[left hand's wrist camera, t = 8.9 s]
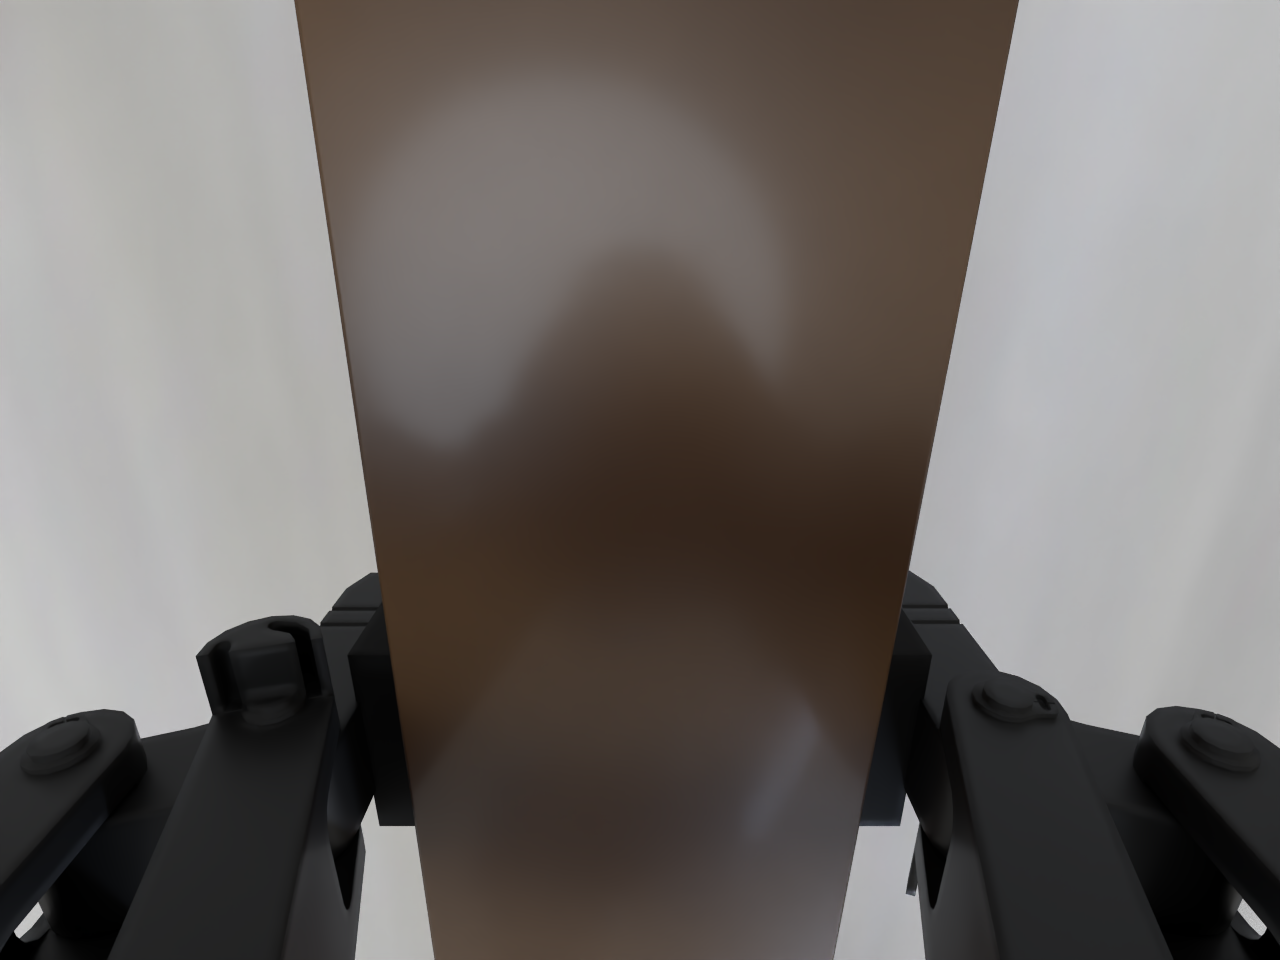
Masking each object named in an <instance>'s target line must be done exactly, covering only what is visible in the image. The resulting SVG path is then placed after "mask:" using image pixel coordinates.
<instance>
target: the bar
mask: <svg viewBox="0 0 1280 960" xmlns="http://www.w3.org/2000/svg"><path fill="white" fill-rule="evenodd" d="M294 1H295V8H296V15H297V22H298V29H299V36H300V42H301V49H302V56H303V63H304V70H305V77H306V83H307V90H308V97H309V104H310V111H311V118H312V124H313V131H314V138H315V145H316V152H317V159H318V165H319V172H320V179H321V186H322V193H323V200H324V206H325V213H326V220H327V227H328V234H329V241H330V247H331V254H332V261H333V268H334V275H335V282H336V288H337V295H338V302H339V309H340V316H341V323H342V329H343V336H344V343H345V350H346V357H347V364H348V370H349V377H350V384H351V391H352V398H353V405H354V411H355V418H356V425H357V432H358V439H359V446H360V452H361V459H362V466H363V473H364V480H365V487H366V494H367V500H368V507H369V514H370V521H371V528H372V535H373V541H374V548H375V555H376V562H377V569H378V576H379V582H380V589H381V596H382V603H383V610H384V617H385V623H386V630H387V637H388V644H389V651H390V658H391V664H392V671H393V678H394V685H395V692H396V699H397V705H398V712H399V719H400V726H401V733H402V740H403V746H404V753H405V760H406V767H407V774H408V781H409V787H410V794H411V801H412V808H413V815H414V822H415V828H416V835H417V842H418V849H419V856H420V863H421V869H422V876H423V883H424V890H425V897H426V904H427V910H428V917H429V924H430V931H431V938H432V945H433V951H434V958H435V960H833V958H834V953H835V948H836V943H837V938H838V932H839V927H840V922H841V917H842V912H843V907H844V901H845V896H846V891H847V886H848V881H849V876H850V870H851V865H852V860H853V855H854V850H855V845H856V839H857V834H858V829H859V824H860V819H861V814H862V808H863V803H864V798H865V793H866V788H867V783H868V777H869V772H870V767H871V762H872V757H873V752H874V746H875V741H876V736H877V731H878V726H879V721H880V715H881V710H882V705H883V700H884V695H885V690H886V684H887V679H888V674H889V669H890V664H891V659H892V653H893V648H894V643H895V638H896V633H897V628H898V622H899V617H900V612H901V607H902V602H903V597H904V591H905V586H906V581H907V576H908V571H909V566H910V560H911V555H912V550H913V545H914V540H915V535H916V529H917V524H918V519H919V514H920V509H921V504H922V498H923V493H924V488H925V483H926V478H927V473H928V467H929V462H930V457H931V452H932V447H933V442H934V436H935V431H936V426H937V421H938V416H939V411H940V405H941V400H942V395H943V390H944V385H945V380H946V374H947V369H948V364H949V359H950V354H951V349H952V343H953V338H954V333H955V328H956V323H957V318H958V312H959V307H960V302H961V297H962V292H963V286H964V281H965V276H966V271H967V266H968V261H969V255H970V250H971V245H972V240H973V235H974V230H975V224H976V219H977V214H978V209H979V204H980V199H981V193H982V188H983V183H984V178H985V173H986V168H987V162H988V157H989V152H990V147H991V142H992V137H993V131H994V126H995V121H996V116H997V111H998V106H999V100H1000V95H1001V90H1002V85H1003V80H1004V75H1005V69H1006V64H1007V59H1008V54H1009V49H1010V44H1011V38H1012V33H1013V28H1014V23H1015V18H1016V13H1017V7H1018V2H1019V0H294Z"/></svg>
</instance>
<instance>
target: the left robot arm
mask: <svg viewBox="0 0 1280 960" xmlns="http://www.w3.org/2000/svg"><path fill="white" fill-rule="evenodd" d="M959 621H960V620H959V619H958V618H957V616H956V615H955V614H954V612H953V611H952V610H951V608H948V605H947V603H946V602H945V601H944V599H943V598H942V597H941V595H940V594H939V593H938V592H937V590H936V589H935V588H934V586H932V585H931V584H929V583H928V582H926V581H924V580H923V579H921V578H920V577H918V576H917V575H915V574H914V573H912V572H910V571H908V576H907V581H906V586H905V591H904V597H903V602H902V607H901V612H900V617H899V622H898V628H897V633H896V638H895V643H894V648H893V653H892V659H891V664H890V669H889V674H888V679H887V684H886V690H885V695H884V700H883V705H882V710H881V715H880V721H879V726H878V731H877V736H876V741H875V746H874V752H873V757H872V762H871V767H870V772H869V777H868V783H867V788H866V793H865V798H864V803H863V808H862V814H861V819H860V824H859V826H900V823H901V817H902V812H903V807H904V802H905V796H906V793H907V795H908V797H909V800H910V802H911V804H912V806H913V808H914V811H915V813H916V815H917V817H918V819H919V822H920V823H919V828H918V833H917V838H916V843H915V848H914V853H913V858H912V863H911V868H910V872H909V877H908V883H907V889H906V894H908V895H912V896H915V893H916V889H917V884H918V890H919V900H920V910H921V920H922V929H923V939H924V949H925V959H926V960H1280V748H1278V747H1277V746H1276V745H1274V744H1273V743H1271V742H1270V741H1269V740H1267V739H1266V738H1264V737H1263V736H1262V735H1260V734H1259V733H1257V732H1256V731H1254V730H1252V729H1250V728H1248V727H1246V726H1244V725H1242V724H1240V723H1238V722H1236V721H1234V720H1232V719H1230V718H1228V717H1225V716H1222V715H1220V714H1214V713H1213V712H1209V711H1205V710H1201V709H1194V708H1187V707H1180V706H1172V707H1164V708H1157V709H1156V710H1154V711H1153V712H1152V713H1150V714H1149V715H1148V716H1146V719H1145V722H1144V725H1143V728H1142V731H1141V734H1140V736H1138V735H1133V734H1128V733H1124V732H1119V731H1114V730H1109V729H1104V728H1100V727H1095V726H1090V725H1086V724H1082V723H1078V722H1075V721H1071V720H1070V719H1069V716H1068V714H1067V713H1066V711H1065V710H1064V709H1063V707H1062V706H1061V704H1060V703H1059V702H1058V700H1057V699H1056V698H1054V697H1053V696H1052V695H1050V694H1049V693H1048V692H1046V691H1045V690H1044V689H1042V688H1041V687H1040V686H1038V685H1035V684H1033V683H1031V682H1029V681H1027V680H1025V679H1023V678H1020V677H1018V676H1015V675H1011V674H1007V673H1003V672H999V671H998V669H997V668H996V667H995V666H994V664H993V663H992V662H991V660H990V659H989V658H988V656H987V655H986V654H985V653H984V651H983V650H982V649H981V647H980V646H979V645H978V643H977V642H976V641H975V640H974V638H973V637H972V636H971V634H970V633H969V632H968V630H967V629H966V628H965V627H964V625H963V624H960V622H959ZM320 623H321V625H320V626H319V625H318V624H316V623H315V622H314V621H312V620H311V619H308V618H303V617H299V616H294V615H291V616H271V617H267V618H262V619H258V620H253V621H249V622H246V623H244V624H241V625H239V626H236V627H234V628H232V629H229V630H227V631H225V632H223V633H222V634H220V635H219V636H217V637H216V638H214V639H212V640H211V641H209V642H208V643H207V644H206V645H205V646H204V647H203V648H202V650H201V651H200V652H199V653H198V654H197V655H196V659H197V663H198V666H199V670H200V673H201V676H202V680H203V683H204V687H205V690H206V694H207V697H208V701H209V704H210V708H211V711H212V718H211V720H210V722H209V724H205V725H201V726H198V727H194V728H189V729H185V730H180V731H175V732H171V733H166V734H161V735H156V736H152V737H147V738H142V739H140V736H139V733H138V730H137V727H136V724H135V721H134V719H133V718H131V717H130V716H129V715H127V714H126V713H125V712H123V711H115V710H108V709H101V710H94V711H87V712H80V713H76V714H72V715H68V716H67V717H61V718H59V719H56V720H53V721H50V722H48V723H47V724H45V725H43V726H41V727H39V728H37V729H35V730H33V731H31V732H29V733H27V734H25V735H23V736H22V737H21V738H19V739H18V740H17V741H15V742H14V743H12V744H11V745H10V746H8V747H7V748H5V749H4V750H3V751H1V752H0V960H355V951H356V941H357V931H358V922H359V912H360V902H361V892H362V883H363V873H364V863H365V853H366V851H365V845H364V838H363V833H362V828H361V822H362V820H363V818H364V815H365V813H366V811H367V809H368V806H369V804H370V802H371V800H372V798H373V795H374V799H375V804H376V809H377V815H378V820H379V825H380V826H415V822H414V815H413V808H412V801H411V794H410V787H409V781H408V774H407V767H406V760H405V753H404V746H403V740H402V733H401V726H400V719H399V712H398V705H397V699H396V692H395V685H394V678H393V671H392V664H391V658H390V651H389V644H388V637H387V630H386V623H385V617H384V610H383V603H382V596H381V589H380V582H379V576H378V573H370V574H368V575H367V576H365V577H364V578H362V579H360V580H359V581H357V582H356V583H354V584H353V585H351V586H350V587H348V588H347V589H346V590H345V591H344V592H343V594H342V595H341V596H340V598H339V599H338V600H337V602H336V603H335V604H334V605H333V607H332V611H329V612H328V613H327V615H326V616H325V617H324V619H323V620H322V621H321V622H320ZM1242 899H1244V900H1245V902H1246V903H1247V904H1248V905H1249V906H1250V908H1251V909H1252V910H1253V911H1254V912H1255V914H1256V915H1257V916H1258V917H1259V918H1260V920H1261V921H1262V922H1263V923H1264V924H1265V926H1266V927H1267V929H1266V931H1265V933H1264V934H1263V935H1262V936H1261V935H1259V934H1258V933H1257V932H1256V931H1255V930H1254V929H1253V928H1252V927H1251V926H1250V925H1249V924H1248V923H1247V922H1246V921H1245V919H1244V918H1243V917H1242V916H1241V914H1240V913H1239V912H1238V911H1237V909H1238V907H1239V905H1240V903H1241V901H1242ZM37 902H39V904H40V907H41V909H42V911H43V914H42V915H41V917H40V918H39V919H38V920H37V922H36V923H35V924H34V925H33V927H32V928H31V929H30V930H28V931H27V932H26V933H25V934H24V935H23V936H22V937H21V938H20V939H19V938H18V937H17V936H16V935H15V933H14V930H15V929H16V928H17V927H18V925H19V924H20V923H21V922H22V921H23V919H24V918H25V917H26V916H27V914H28V913H29V912H30V911H31V910H32V908H33V907H34V906H35V905H36V904H37Z"/></svg>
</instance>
